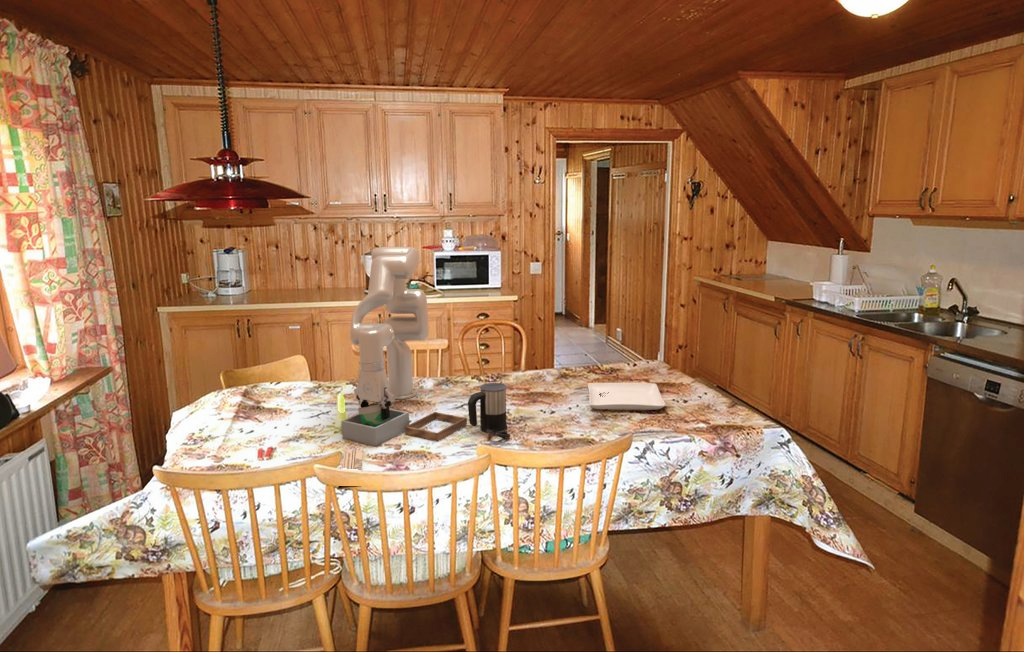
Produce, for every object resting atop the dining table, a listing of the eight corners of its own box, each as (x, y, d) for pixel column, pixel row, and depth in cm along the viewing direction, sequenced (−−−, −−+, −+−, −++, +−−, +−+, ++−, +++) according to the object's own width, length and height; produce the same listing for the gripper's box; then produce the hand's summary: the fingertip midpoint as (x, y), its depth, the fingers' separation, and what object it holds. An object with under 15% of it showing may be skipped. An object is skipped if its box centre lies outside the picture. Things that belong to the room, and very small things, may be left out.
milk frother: (493, 421, 219) (492, 380, 216) (528, 431, 209) (527, 389, 206) (464, 433, 209) (463, 390, 206) (499, 444, 199) (498, 400, 196)
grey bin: (342, 438, 206) (341, 421, 205) (376, 422, 220) (375, 405, 219) (376, 446, 199) (375, 428, 198) (409, 429, 213) (408, 412, 212)
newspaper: (343, 456, 193) (342, 450, 193) (366, 454, 195) (366, 448, 194) (338, 490, 171) (338, 484, 170) (365, 487, 172) (364, 481, 172)
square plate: (655, 391, 250) (656, 382, 250) (665, 414, 224) (666, 404, 223) (587, 390, 253) (587, 381, 252) (589, 413, 226) (589, 403, 226)
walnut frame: (405, 434, 209) (404, 426, 208) (435, 418, 223) (434, 411, 222) (438, 441, 202) (437, 434, 202) (466, 424, 216) (466, 418, 216)
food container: (377, 438, 202) (372, 408, 200) (362, 437, 204) (357, 408, 203) (400, 425, 212) (395, 397, 211) (385, 425, 215) (380, 397, 214)
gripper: (344, 365, 206) (348, 416, 209) (385, 372, 197) (388, 424, 201) (360, 360, 212) (363, 409, 216) (400, 366, 203) (403, 417, 207)
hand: (375, 416), depth 208 cm, fingers open, 8 cm apart
